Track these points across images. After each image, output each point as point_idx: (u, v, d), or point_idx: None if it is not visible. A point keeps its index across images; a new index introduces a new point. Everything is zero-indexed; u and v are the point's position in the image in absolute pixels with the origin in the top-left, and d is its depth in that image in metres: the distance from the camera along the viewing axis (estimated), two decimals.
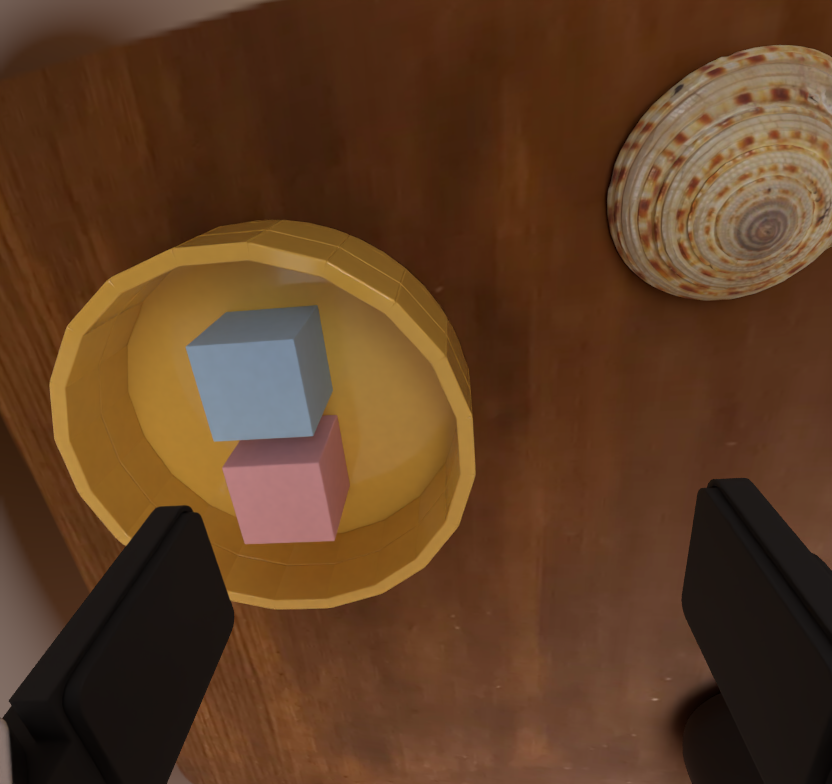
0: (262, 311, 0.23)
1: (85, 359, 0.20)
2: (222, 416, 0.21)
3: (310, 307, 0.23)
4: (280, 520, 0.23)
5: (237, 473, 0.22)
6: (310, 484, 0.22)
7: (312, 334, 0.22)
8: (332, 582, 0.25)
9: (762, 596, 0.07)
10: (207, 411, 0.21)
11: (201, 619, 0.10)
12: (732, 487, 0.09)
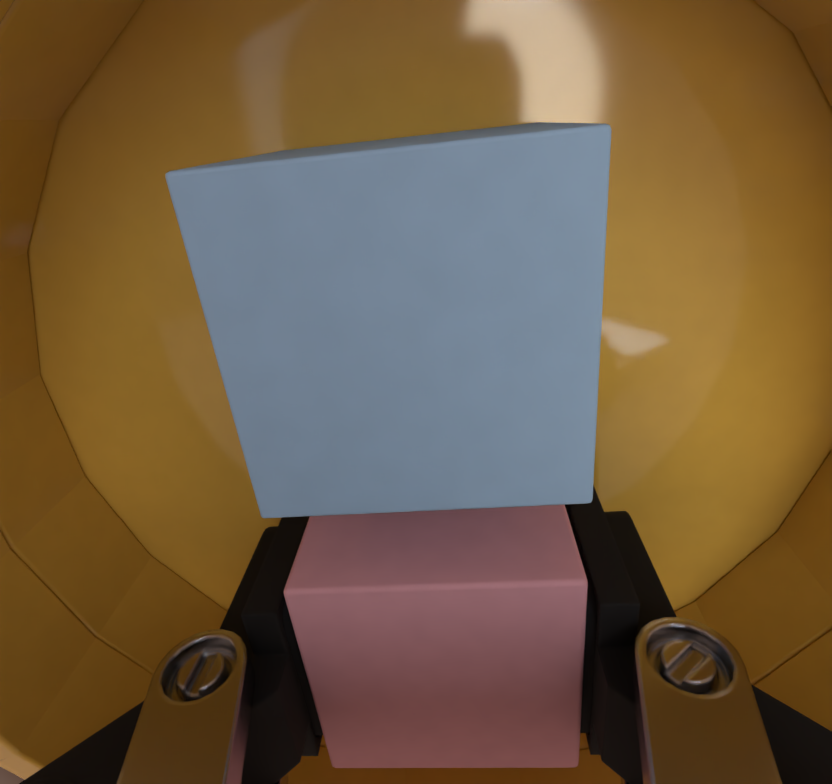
0: (388, 139, 0.08)
1: None
2: (294, 440, 0.06)
3: None
4: (438, 720, 0.08)
5: (329, 607, 0.07)
6: (546, 638, 0.07)
7: None
8: None
9: None
10: (244, 423, 0.06)
11: None
12: None
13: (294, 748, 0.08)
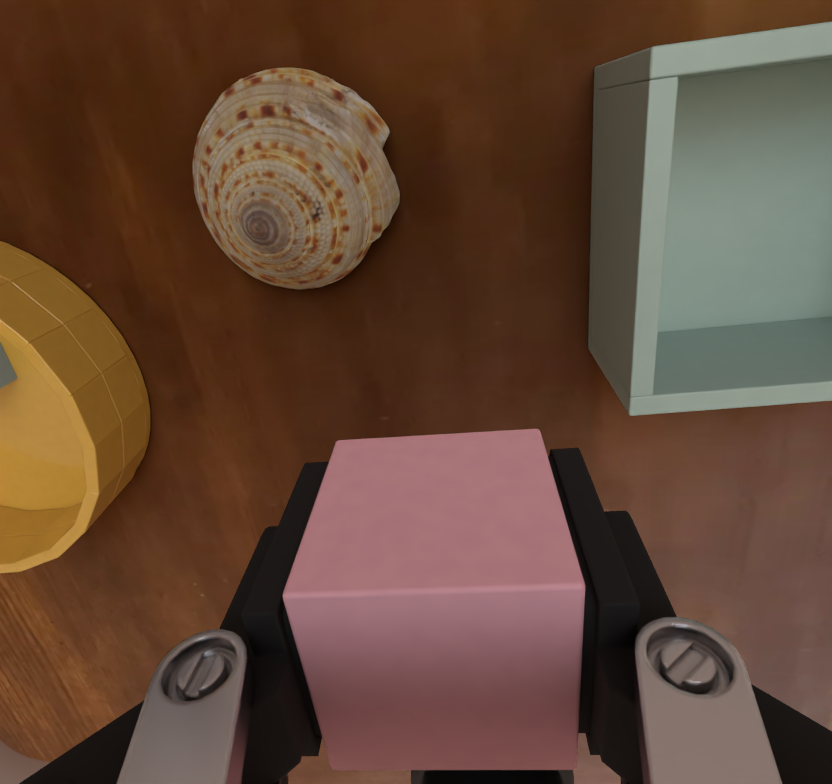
0: None
1: None
2: None
3: None
4: (436, 723, 0.08)
5: (327, 610, 0.07)
6: (544, 641, 0.07)
7: None
8: (26, 549, 0.28)
9: None
10: None
11: None
12: (562, 455, 0.10)
13: (294, 748, 0.08)
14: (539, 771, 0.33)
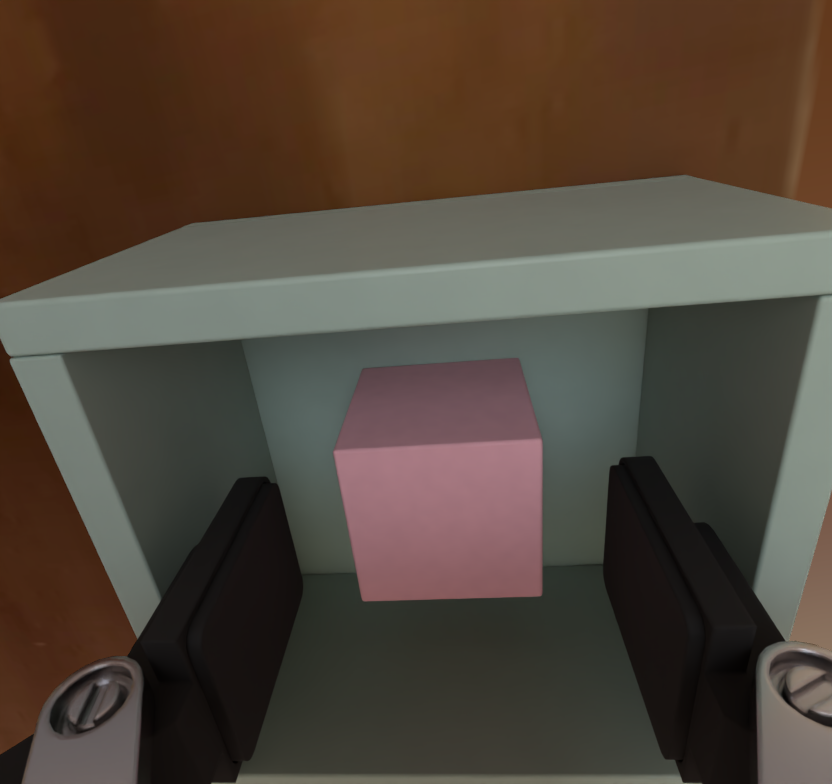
0: None
1: None
2: None
3: None
4: (440, 557, 0.12)
5: (364, 463, 0.11)
6: (515, 485, 0.11)
7: None
8: None
9: (647, 558, 0.08)
10: None
11: (281, 583, 0.11)
12: (636, 464, 0.10)
13: (200, 778, 0.08)
14: None
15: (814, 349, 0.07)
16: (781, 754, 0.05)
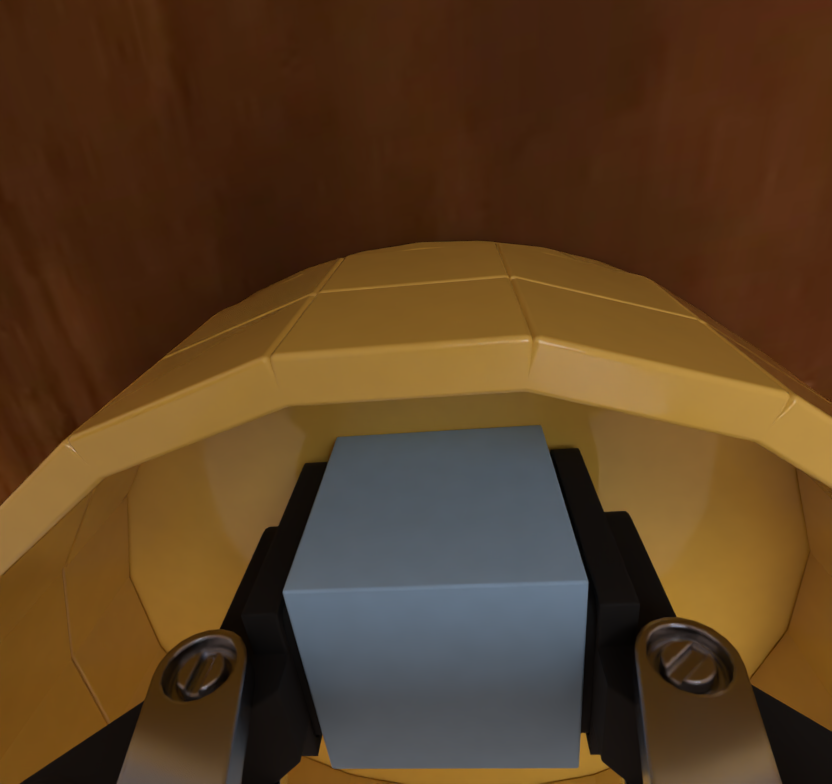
0: (422, 440, 0.10)
1: (20, 597, 0.08)
2: (360, 728, 0.08)
3: (530, 433, 0.10)
4: None
5: None
6: None
7: None
8: None
9: None
10: (324, 717, 0.08)
11: None
12: (562, 455, 0.10)
13: (294, 748, 0.08)
14: None
15: None
16: (642, 717, 0.06)
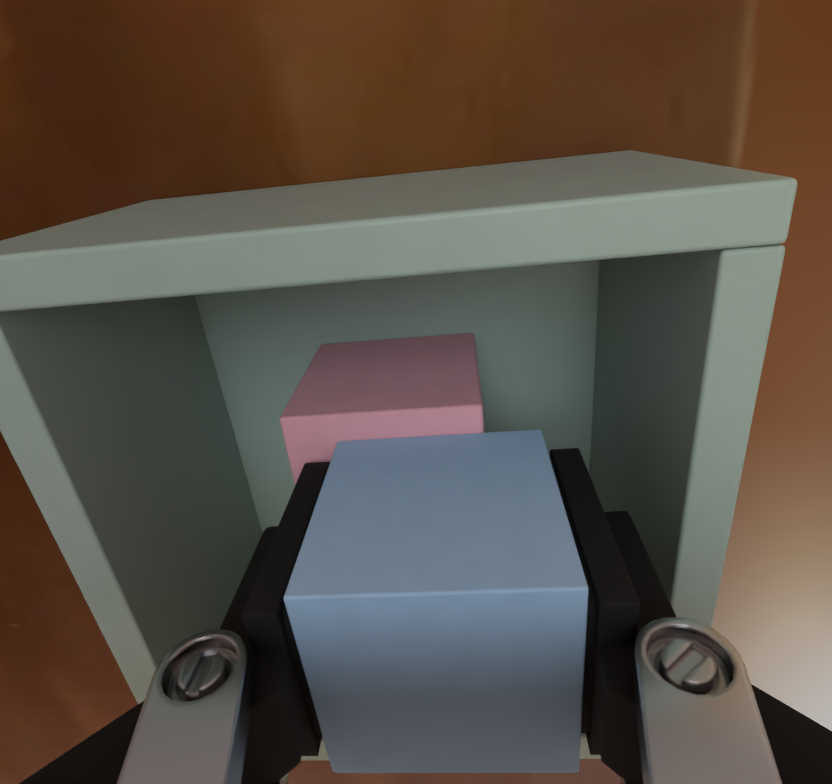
0: (422, 445, 0.10)
1: None
2: (361, 733, 0.08)
3: (530, 437, 0.10)
4: None
5: (310, 430, 0.11)
6: None
7: None
8: None
9: None
10: (326, 722, 0.08)
11: None
12: (562, 455, 0.10)
13: (294, 748, 0.08)
14: None
15: (719, 303, 0.07)
16: (642, 716, 0.06)
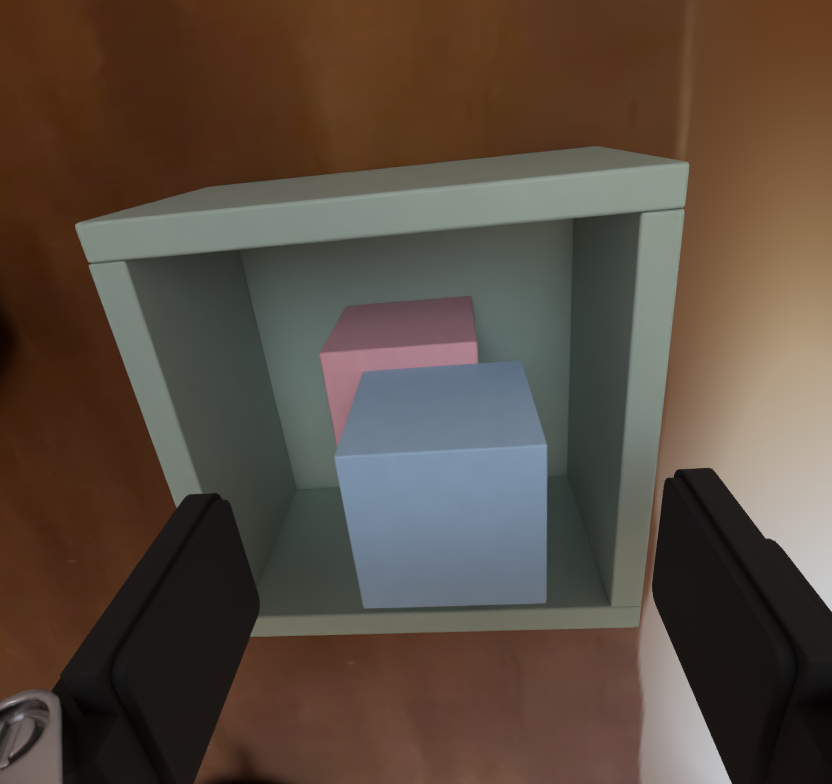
0: (429, 371, 0.13)
1: None
2: (386, 571, 0.12)
3: (513, 365, 0.13)
4: None
5: (343, 363, 0.14)
6: None
7: None
8: None
9: (717, 579, 0.08)
10: (360, 562, 0.11)
11: (231, 604, 0.10)
12: (695, 476, 0.09)
13: None
14: None
15: (641, 250, 0.10)
16: None
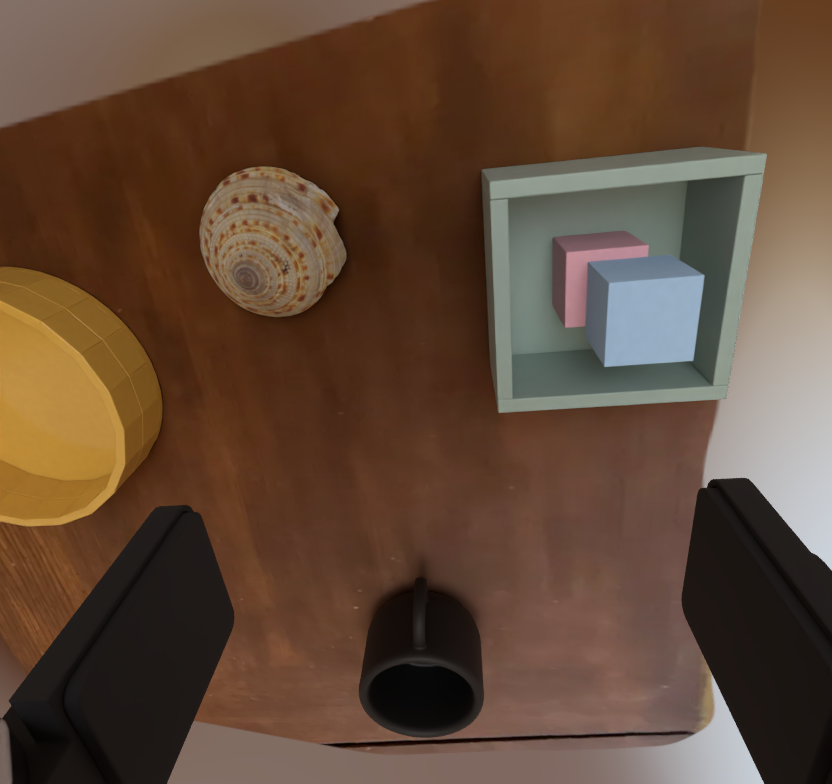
0: (625, 260, 0.27)
1: None
2: (619, 344, 0.25)
3: (668, 256, 0.27)
4: None
5: (578, 257, 0.27)
6: None
7: None
8: (66, 508, 0.37)
9: (762, 596, 0.07)
10: (608, 339, 0.25)
11: (201, 619, 0.10)
12: (732, 487, 0.09)
13: None
14: (462, 693, 0.42)
15: (743, 192, 0.24)
16: None
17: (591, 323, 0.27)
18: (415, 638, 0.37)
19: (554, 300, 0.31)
